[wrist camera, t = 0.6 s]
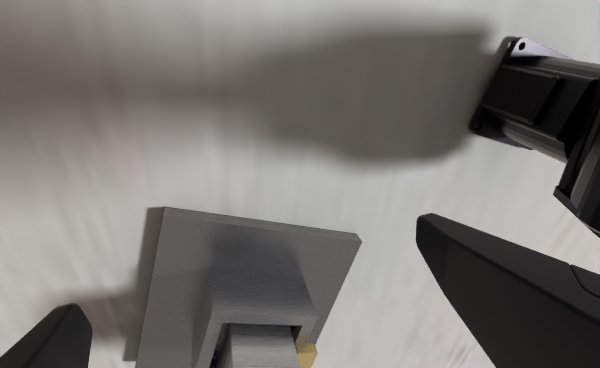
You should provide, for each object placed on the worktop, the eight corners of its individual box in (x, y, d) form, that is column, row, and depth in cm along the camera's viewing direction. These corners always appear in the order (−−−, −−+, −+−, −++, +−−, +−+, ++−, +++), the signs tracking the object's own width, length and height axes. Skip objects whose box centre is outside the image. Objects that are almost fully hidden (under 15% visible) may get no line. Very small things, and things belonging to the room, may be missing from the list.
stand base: (357, 234, 27) (391, 287, 22) (301, 359, 32) (319, 424, 27) (164, 206, 22) (153, 267, 17) (136, 359, 27) (121, 439, 22)
